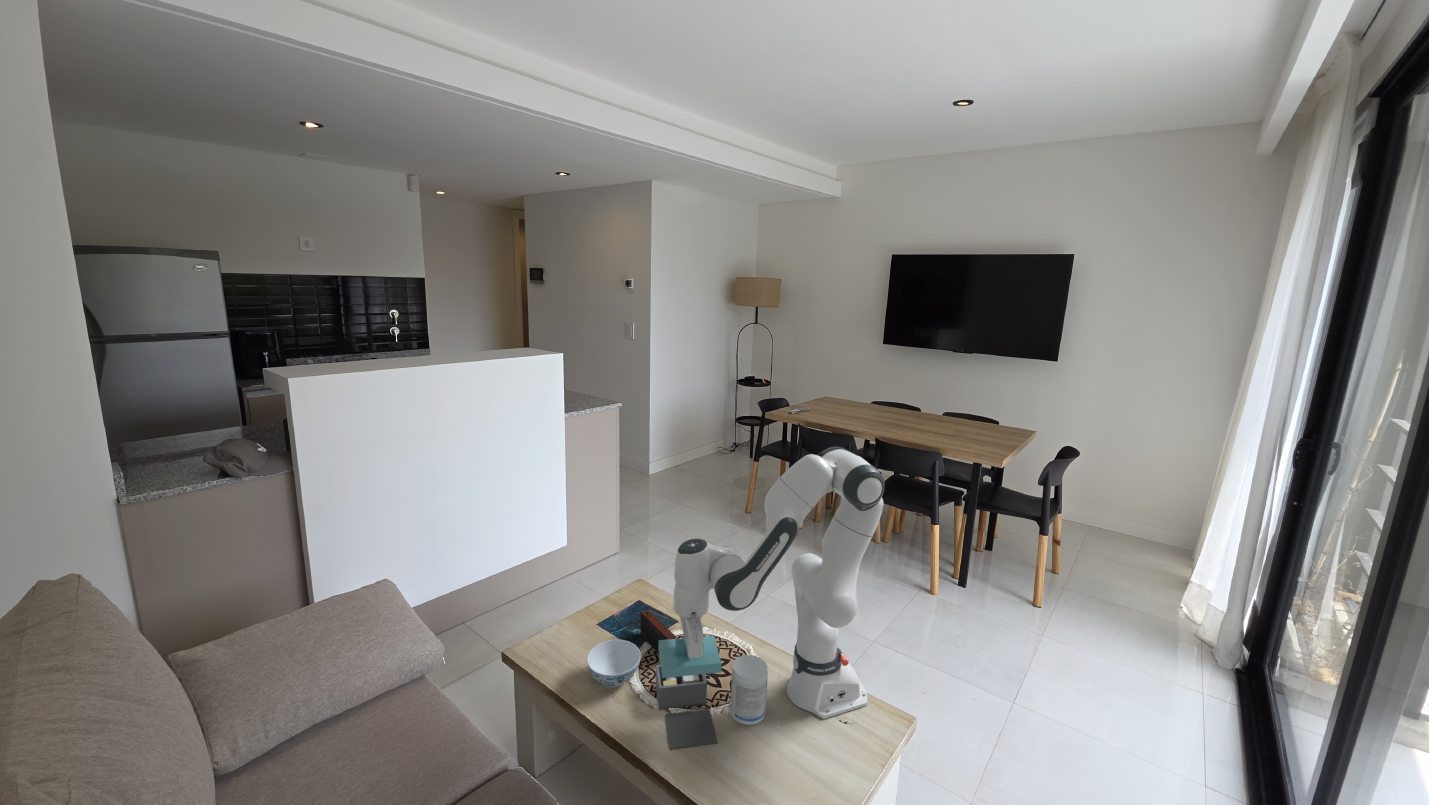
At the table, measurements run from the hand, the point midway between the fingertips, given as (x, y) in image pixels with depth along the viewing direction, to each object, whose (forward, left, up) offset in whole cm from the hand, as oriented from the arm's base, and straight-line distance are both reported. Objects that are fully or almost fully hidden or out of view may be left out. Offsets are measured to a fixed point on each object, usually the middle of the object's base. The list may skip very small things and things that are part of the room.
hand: (689, 649), depth 146 cm
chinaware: (+19, -17, -21) cm, 33 cm away
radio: (+5, -28, -21) cm, 36 cm away
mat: (0, +4, -21) cm, 21 cm away
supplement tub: (-16, +1, -21) cm, 27 cm away
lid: (0, 0, -3) cm, 3 cm away
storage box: (+1, -8, -21) cm, 23 cm away
